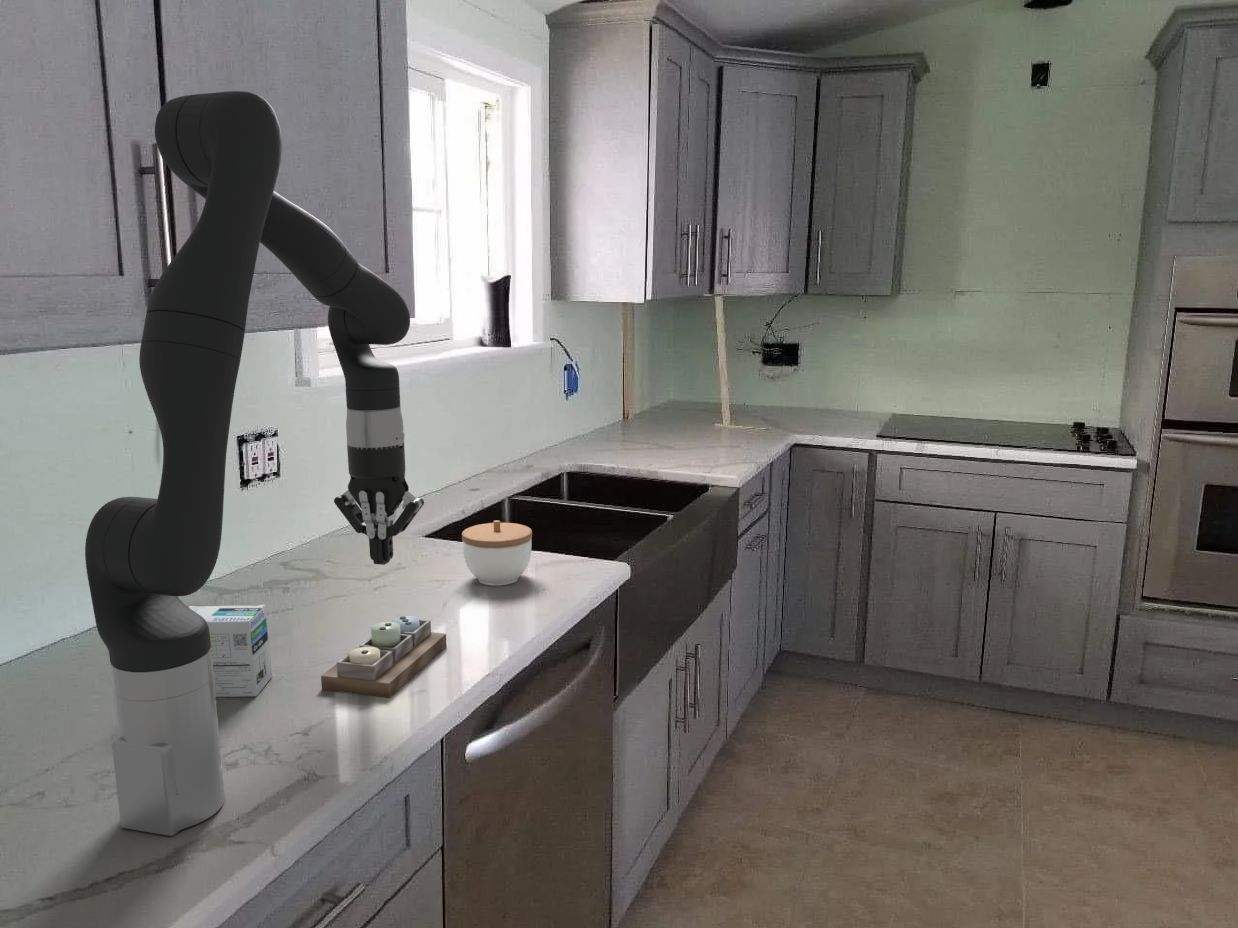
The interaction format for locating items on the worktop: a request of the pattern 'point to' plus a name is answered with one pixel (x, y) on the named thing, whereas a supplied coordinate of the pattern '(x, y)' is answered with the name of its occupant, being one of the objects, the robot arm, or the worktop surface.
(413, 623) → the three-pip button
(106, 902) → the worktop surface
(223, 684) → the light bulb box
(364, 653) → the one-pip button
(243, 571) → the worktop surface
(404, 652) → the button panel
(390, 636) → the two-pip button
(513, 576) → the lidded bowl
